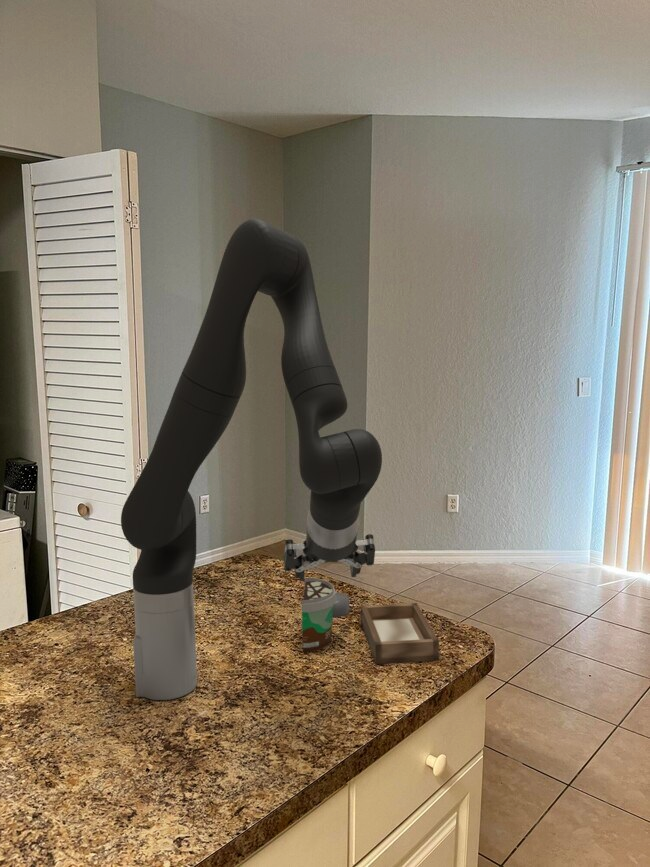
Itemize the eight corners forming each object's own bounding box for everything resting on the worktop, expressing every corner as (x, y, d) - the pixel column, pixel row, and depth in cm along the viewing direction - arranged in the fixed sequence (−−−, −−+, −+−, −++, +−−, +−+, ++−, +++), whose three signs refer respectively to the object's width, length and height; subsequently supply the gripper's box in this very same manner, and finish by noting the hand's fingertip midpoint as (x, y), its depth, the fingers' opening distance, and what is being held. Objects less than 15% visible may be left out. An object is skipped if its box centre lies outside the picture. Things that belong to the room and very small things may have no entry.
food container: (337, 655, 122) (336, 601, 121) (302, 655, 122) (301, 601, 121) (337, 626, 134) (337, 576, 133) (305, 626, 134) (304, 576, 133)
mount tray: (375, 664, 119) (375, 644, 118) (361, 623, 135) (361, 605, 135) (438, 660, 120) (439, 641, 119) (416, 620, 136) (416, 603, 136)
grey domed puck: (321, 618, 138) (321, 604, 138) (318, 606, 144) (318, 593, 144) (351, 617, 139) (351, 602, 138) (347, 605, 145) (347, 591, 144)
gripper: (377, 500, 104) (366, 550, 117) (282, 505, 103) (282, 556, 116) (384, 544, 100) (372, 592, 113) (285, 551, 99) (285, 598, 111)
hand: (327, 573), depth 114 cm, fingers open, 8 cm apart
